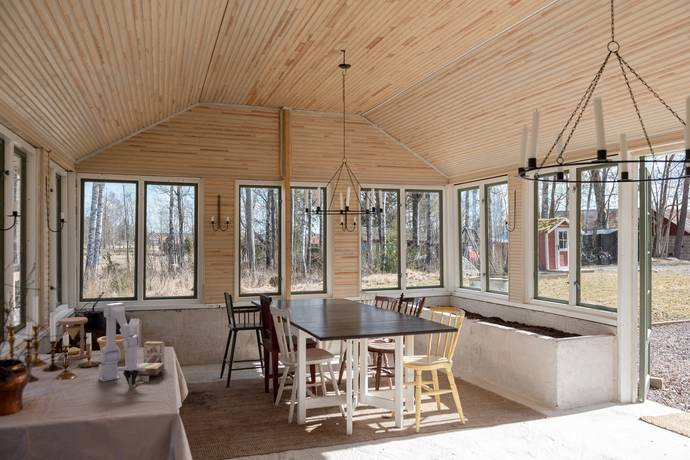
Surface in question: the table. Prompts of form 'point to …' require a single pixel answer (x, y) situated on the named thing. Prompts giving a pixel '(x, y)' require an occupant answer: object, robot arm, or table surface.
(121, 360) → the pottery
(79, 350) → the hourglass
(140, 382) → the brass disc
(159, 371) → the tan cardboard box
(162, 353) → the candy bar box
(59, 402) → the table surface
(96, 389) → the table surface
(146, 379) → the grey t-shaped piece
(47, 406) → the table surface
